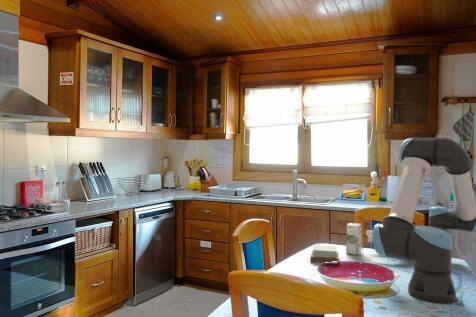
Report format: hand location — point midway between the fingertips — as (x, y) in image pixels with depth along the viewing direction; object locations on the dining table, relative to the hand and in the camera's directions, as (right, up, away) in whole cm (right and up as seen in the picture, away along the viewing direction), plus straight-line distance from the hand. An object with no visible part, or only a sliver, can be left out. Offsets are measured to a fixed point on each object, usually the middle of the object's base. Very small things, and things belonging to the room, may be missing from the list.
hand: (367, 235), depth 194 cm
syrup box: (-6, -9, +1) cm, 11 cm away
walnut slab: (-23, -9, -11) cm, 27 cm away
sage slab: (-23, -6, -11) cm, 26 cm away
